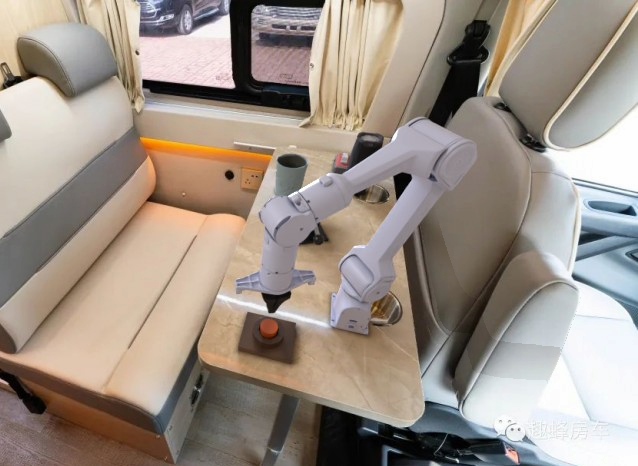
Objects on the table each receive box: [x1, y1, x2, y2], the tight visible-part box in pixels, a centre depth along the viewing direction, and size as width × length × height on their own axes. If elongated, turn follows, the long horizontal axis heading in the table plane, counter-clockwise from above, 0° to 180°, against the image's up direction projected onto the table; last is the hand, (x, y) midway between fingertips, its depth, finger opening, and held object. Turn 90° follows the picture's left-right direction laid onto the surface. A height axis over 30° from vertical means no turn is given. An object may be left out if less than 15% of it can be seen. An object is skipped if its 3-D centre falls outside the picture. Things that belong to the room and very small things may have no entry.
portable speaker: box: [346, 131, 385, 197], centre depth 106 cm, size 9×9×20 cm
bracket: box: [299, 222, 329, 246], centre depth 94 cm, size 11×9×10 cm
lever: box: [313, 225, 325, 246], centre depth 91 cm, size 12×3×3 cm, turn 9°
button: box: [260, 319, 278, 338], centre depth 68 cm, size 4×4×2 cm
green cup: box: [274, 152, 309, 196], centre depth 109 cm, size 10×10×12 cm
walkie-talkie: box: [331, 152, 351, 174], centre depth 124 cm, size 9×4×20 cm
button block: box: [237, 311, 297, 365], centre depth 70 cm, size 11×9×4 cm
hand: (270, 308), depth 64 cm, fingers closed
